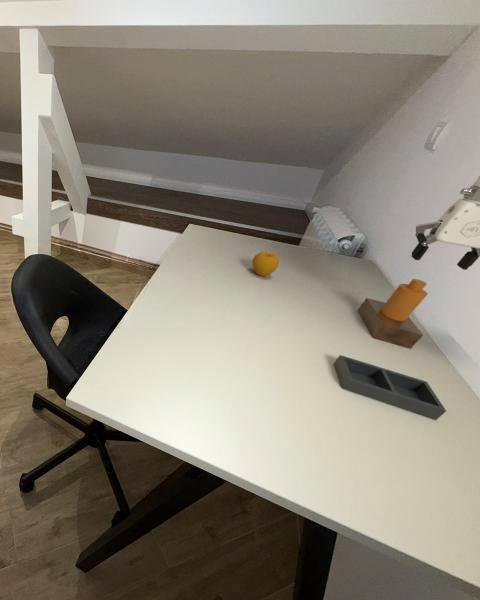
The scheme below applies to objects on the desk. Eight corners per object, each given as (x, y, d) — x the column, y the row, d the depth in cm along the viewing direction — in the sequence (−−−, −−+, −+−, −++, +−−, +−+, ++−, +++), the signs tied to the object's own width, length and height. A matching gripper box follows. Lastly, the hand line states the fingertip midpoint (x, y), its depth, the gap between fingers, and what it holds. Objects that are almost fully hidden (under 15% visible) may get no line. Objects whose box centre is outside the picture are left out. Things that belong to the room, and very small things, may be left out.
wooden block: (390, 319, 99) (400, 306, 97) (410, 348, 87) (423, 335, 84) (357, 310, 102) (366, 297, 99) (372, 337, 90) (383, 324, 87)
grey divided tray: (331, 365, 78) (339, 354, 76) (416, 392, 73) (426, 381, 71) (340, 390, 71) (349, 379, 69) (433, 421, 66) (446, 411, 64)
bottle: (401, 312, 93) (428, 280, 87) (409, 323, 88) (438, 289, 82) (377, 306, 95) (402, 274, 89) (383, 316, 90) (411, 283, 84)
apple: (243, 270, 120) (252, 249, 115) (258, 267, 123) (268, 247, 118) (260, 281, 113) (271, 259, 108) (277, 278, 116) (288, 257, 111)
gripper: (450, 193, 72) (402, 260, 82) (552, 208, 67) (489, 277, 76) (435, 187, 78) (392, 250, 87) (527, 200, 73) (471, 265, 82)
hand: (437, 262), depth 82 cm, fingers open, 9 cm apart
